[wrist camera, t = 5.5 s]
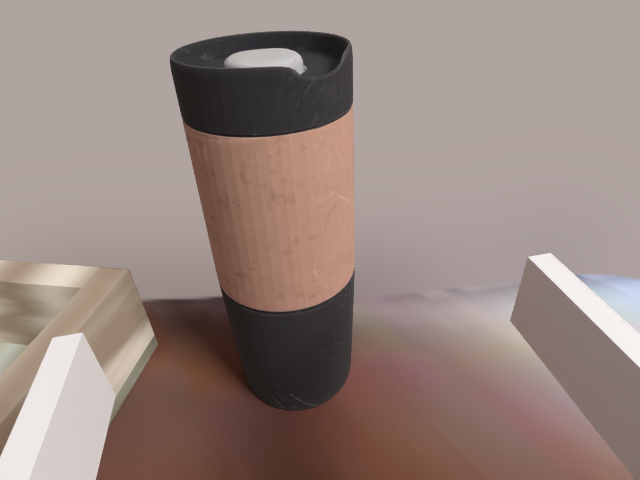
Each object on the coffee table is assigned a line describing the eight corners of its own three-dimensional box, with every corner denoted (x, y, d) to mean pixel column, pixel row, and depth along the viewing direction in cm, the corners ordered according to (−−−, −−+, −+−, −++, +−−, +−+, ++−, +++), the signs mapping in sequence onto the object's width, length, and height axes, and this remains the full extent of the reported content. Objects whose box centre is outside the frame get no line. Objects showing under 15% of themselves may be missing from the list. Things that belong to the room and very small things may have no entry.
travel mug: (252, 322, 32) (197, 33, 21) (353, 323, 32) (353, 27, 20) (230, 414, 26) (133, 73, 15) (355, 417, 26) (356, 65, 14)
